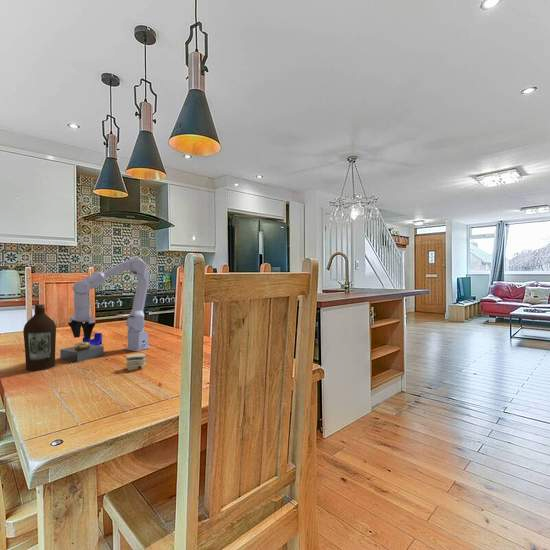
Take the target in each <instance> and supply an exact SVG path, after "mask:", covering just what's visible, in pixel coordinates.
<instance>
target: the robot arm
mask: <svg viewBox="0 0 550 550" xmlns="http://www.w3.org/2000/svg"><path fill="white" fill-rule="evenodd" d="M147 266H148V265H147V263H146V262H145V261H144V260H143V259H141V258H138V257H136V258H130V259H128V260H124V261H122V262H120V263H117V264H116V265H114V266H112V267H110V268H108V269H106V270H105V271H103V272H102V271H93V272H92V274H90V275H87V276H86V277H82V278H81V280H77V281H76V282H74V283H73V286H72V291H73V296H74V297H73V312H74V313H73V316H69V322H68V324H67V325H68V326H69V327H70V329H71V331H72V335H73V337H74V339H76V338H80V337H81V328H82V331H83V338H85V339H90V337H91V336H92V332H93V329H94V328H95V326H96V324H97V323H96V322H95V318H94V317H91V316H90V296H89V292H90V290H93V289H95V288H97V287H99V286H101V285H103V284H105V283H106V280H107V279H108V278H110V277H113V276H114V275H116V274H119V273H121V272H123V271H126V272H127V271H129V272H130V273H132V274H134V276H135V278H137V283H136V288H135V293H134V298H133V304H132V308H131V311H130V312H129V316H128V318H127V319H126V321H125V325H126V326H127V327H128V328H127V347H123V350H126V351H133V352H139V351H143V350H146V349H150V348H151V346H149V345H150V344H149V334H148V333H147V332H146V331H144V328H145V326H146V322H145V313H144V309H145V304H146V299H147V293H148V288H149V283H150V278H151V275H150V273H149V270H148V268H147Z"/></svg>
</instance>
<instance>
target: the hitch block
mask: <svg viewBox="0 0 550 550" xmlns="http://www.w3.org/2000/svg"><path fill="white" fill-rule="evenodd" d="M59 352H60V354H59V355H60V356H59V357H60V360H65V361H71V362H76V363H79V362H83V361H87V360H90V359H95V358H99V357H103V356H104V355H105V353H104V346H103V345H99V346H97V345H91V344H90V347H89V348H87V349H79V350H78V349H75V346H71V347H66V348H61V349H60V350H59Z"/></svg>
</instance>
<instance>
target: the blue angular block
mask: <svg viewBox="0 0 550 550" xmlns="http://www.w3.org/2000/svg"><path fill="white" fill-rule="evenodd" d="M82 342H89V343H90V344H91V345H97V346H102V345H103V333H102V332H96V333H94V335H93V338H92V339H91V337H90V339H85V338H84V337H82Z"/></svg>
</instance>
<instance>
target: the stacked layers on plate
mask: <svg viewBox="0 0 550 550" xmlns="http://www.w3.org/2000/svg"><path fill="white" fill-rule="evenodd" d="M146 355H147V354H145V353H143V352H137V353H131V354H126V355H125V356H126V357H125V360H126V363H125V365H126V369H127V370H128V371H133V370H139V368H143V366H145V365H147V362H146V359H147V357H146Z"/></svg>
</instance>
